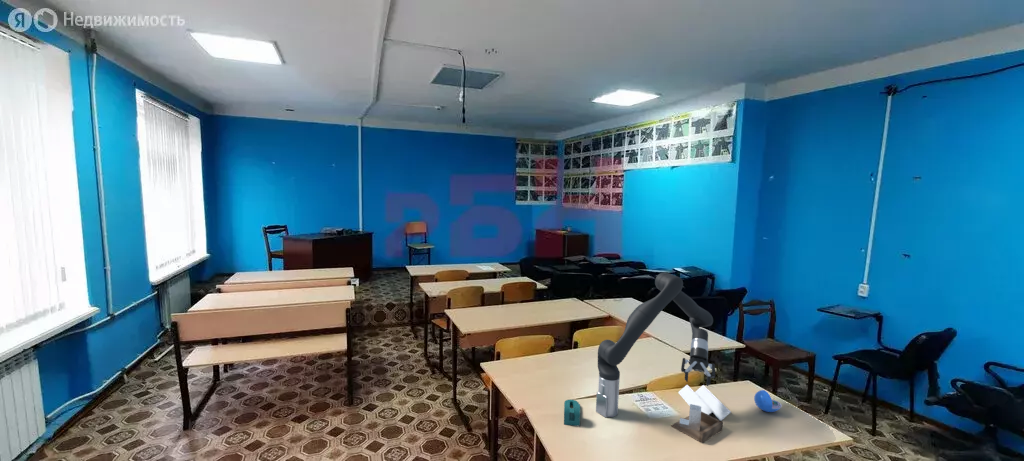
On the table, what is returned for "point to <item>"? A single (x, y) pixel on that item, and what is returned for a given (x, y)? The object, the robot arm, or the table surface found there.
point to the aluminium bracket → (692, 418)
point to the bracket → (571, 413)
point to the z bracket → (704, 401)
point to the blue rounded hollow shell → (766, 402)
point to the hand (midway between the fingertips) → (697, 383)
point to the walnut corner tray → (702, 428)
